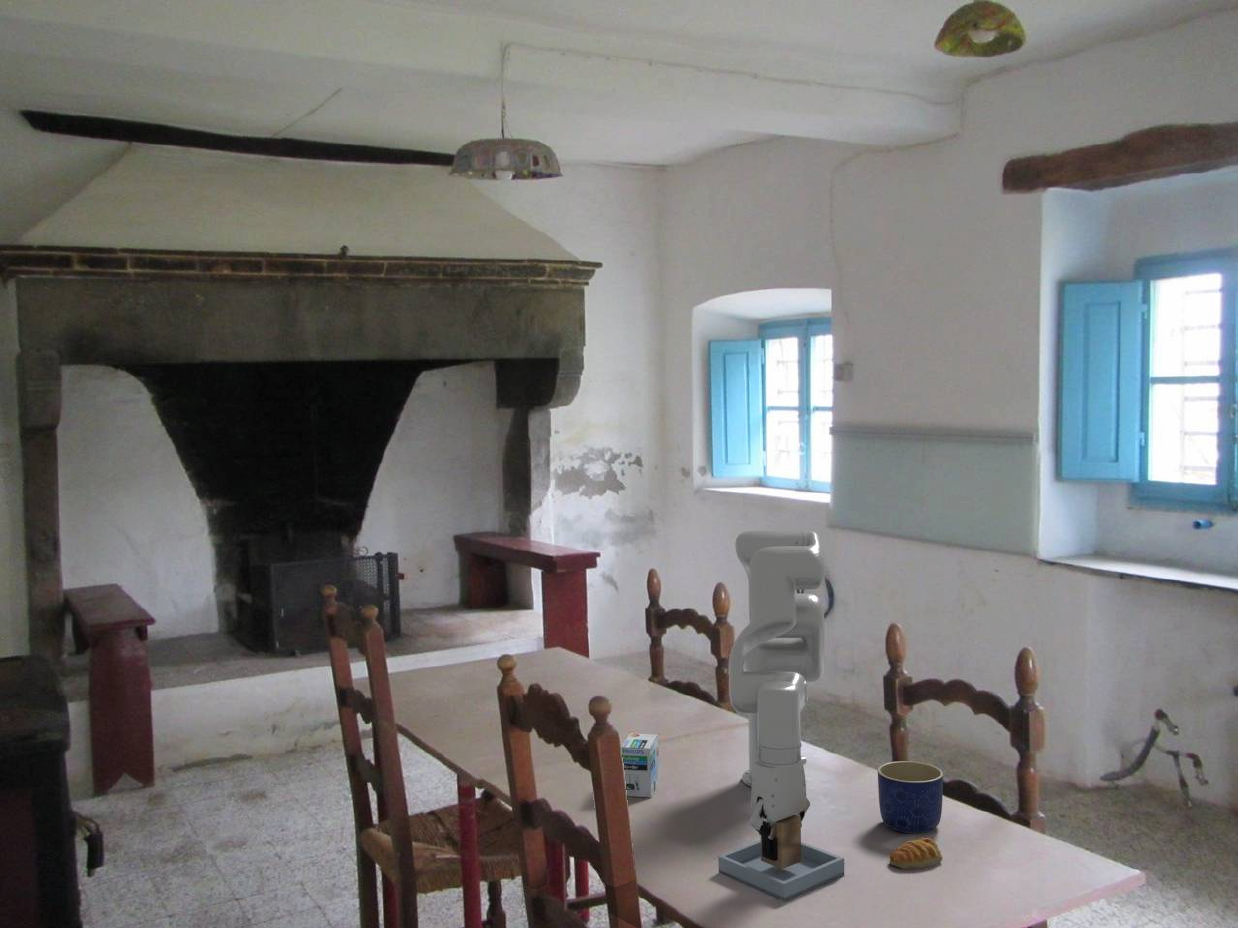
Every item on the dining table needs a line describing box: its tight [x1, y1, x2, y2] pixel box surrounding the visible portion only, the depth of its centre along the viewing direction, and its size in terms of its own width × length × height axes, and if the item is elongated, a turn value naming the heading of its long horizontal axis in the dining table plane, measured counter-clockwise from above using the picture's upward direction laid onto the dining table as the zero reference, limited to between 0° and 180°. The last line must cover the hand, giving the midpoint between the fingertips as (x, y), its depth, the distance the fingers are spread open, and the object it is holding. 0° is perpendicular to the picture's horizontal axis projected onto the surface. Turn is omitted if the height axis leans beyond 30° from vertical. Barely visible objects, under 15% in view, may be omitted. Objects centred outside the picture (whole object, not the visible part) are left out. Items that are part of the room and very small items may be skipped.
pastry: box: [889, 837, 943, 870], centre depth 201 cm, size 9×7×4 cm
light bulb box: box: [620, 732, 660, 798], centre depth 242 cm, size 11×7×11 cm, turn 168°
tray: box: [717, 839, 845, 903], centre depth 197 cm, size 16×16×3 cm
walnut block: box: [760, 815, 802, 869], centre depth 197 cm, size 5×5×8 cm
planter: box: [877, 760, 944, 834], centre depth 217 cm, size 12×12×11 cm
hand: (780, 852), depth 197 cm, fingers closed on walnut block, 5 cm apart
